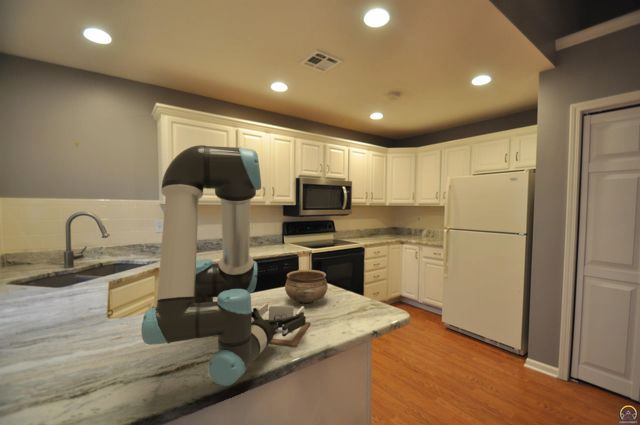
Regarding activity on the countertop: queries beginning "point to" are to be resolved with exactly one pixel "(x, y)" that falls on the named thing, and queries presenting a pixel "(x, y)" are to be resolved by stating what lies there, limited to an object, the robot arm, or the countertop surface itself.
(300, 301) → the cooking pot
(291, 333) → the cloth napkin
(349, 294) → the countertop surface
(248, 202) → the robot arm
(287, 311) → the electrical switch
